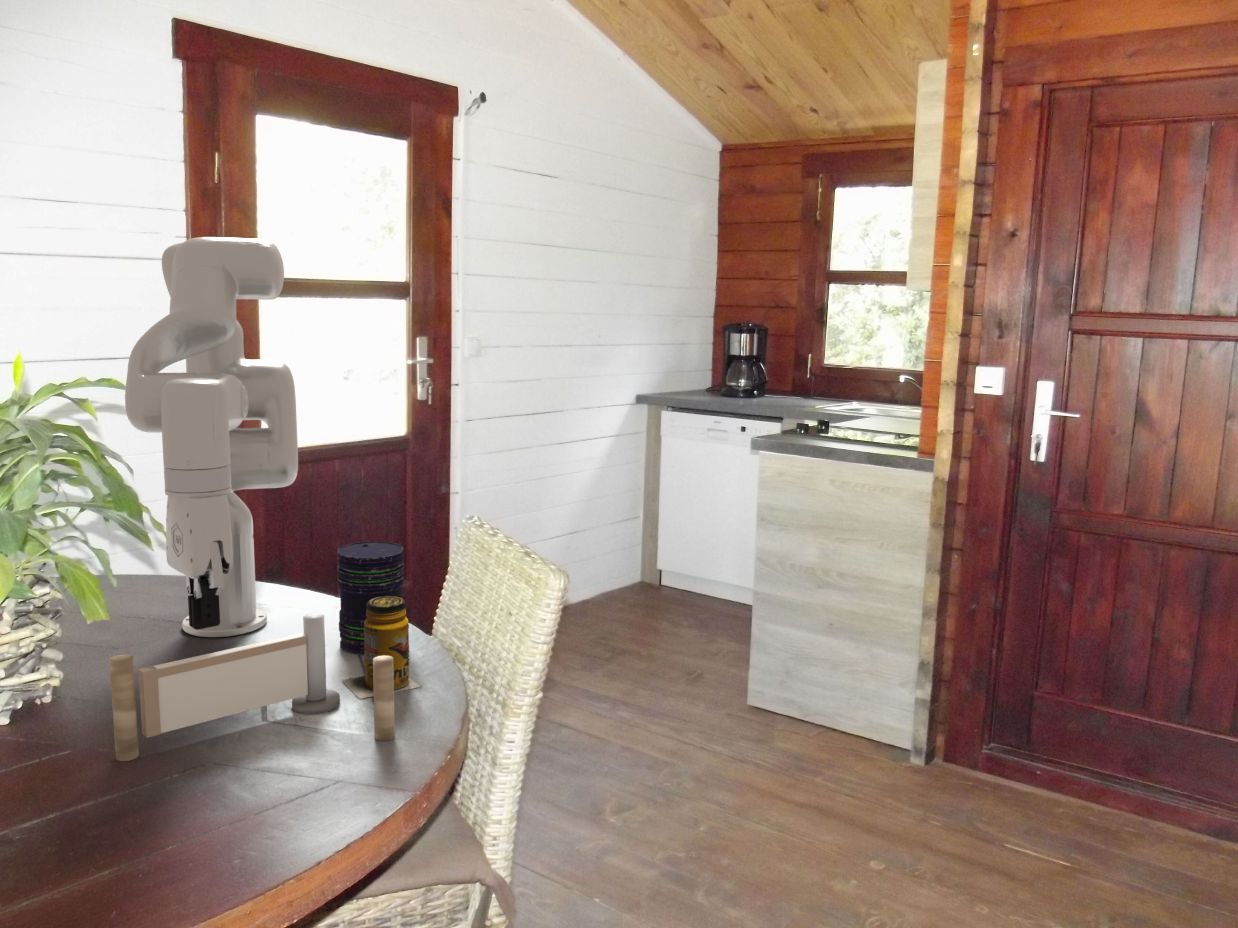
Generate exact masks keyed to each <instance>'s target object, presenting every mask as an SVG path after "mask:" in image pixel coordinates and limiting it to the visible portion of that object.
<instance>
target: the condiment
mask: <svg viewBox="0 0 1238 928" xmlns="http://www.w3.org/2000/svg"><path fill="white" fill-rule="evenodd" d="M406 607H407V606H406V601H405V599H403V597H402V598H399V597H395V596H382V597H376V598H373V599H371V600H369V601H368V603H367V605H366V608H367V612H366V617H367V619H366V620H365V622H364V655H363V656H364V661H363V663H364V675H362V676H357V677H347V678H344V679H342V682H343V683H344V684H345V686H346V687H348V689H349V690H350V691H351V692H352V693H354V694H355V696H356V697H358V699H360V700H361V699H365V698H370V697H374V687H373V659H374V658H375V657H377V656H384V655H386V656H391V657H393V668H394V693H398V692H403V691H408V690H411V689H412V690H413V689H416V688H420V685H419V684H418V683H416V682H415V681H414V680H413V679H411V678H410V642H409V641H410V640H409V639H410V635H409V634H410V633H409V632H410V631H409V629H410V627H409V626H410V624H409V619H408V618H407V612H406Z"/></svg>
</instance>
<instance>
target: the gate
mask: <svg viewBox="0 0 1238 928" xmlns="http://www.w3.org/2000/svg"><path fill="white" fill-rule="evenodd" d="M302 619H303V620H302V621H303V622H302V623H303V626H302V627H303V632H301V633H296V634H292V635H288V636H284V637H279V638H274V639H269V640H265V641H261V642H256V643H252V644H251V643H250V644H247V645H243V646H237V647H232V648H229V649H228V648H227V649H224V650H219V651H215V652H211V653H206V654H200V655H197V656H192V657H188V658H184V659H183V658H182V659H179V660H174V661H169V662H166V663H160V664H155V665H149V666H145V667H144V666H143V667H139V668H138V669H137V670H138V673H137V674H138V686H139V687H138V688H139V702H140V717H141V719H140V720H141V734H142V735H143V736H144V737H146V739H149V738H152V737H155V736H159V735H162V734H164V733H169V732H171V731H176V730H179V729H183V728H187V727H191V726H195V725H197V724H202V723H206V722H210V721H214V720H216V719H220V718H225V717H229V716H233V715H235V714H239V713H243V712H246V711H250V710H255V709H258V708H262V707H266V706H270V705H274V704H278V703H282V702H285V701H289V700H292V699H293V698H297V697H301V696H305V695H306V699H307V700H309V701H319V700H323V699H325V698H326V689H327V673H326V671H327V670H326V668H327V667H326V640H325V639H326V638H325V636H326V635H325V630H326V629H325V615H324V614H323V613H315V612H313V613H308V614H304V615H303V617H302Z"/></svg>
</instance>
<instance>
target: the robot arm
mask: <svg viewBox="0 0 1238 928" xmlns="http://www.w3.org/2000/svg"><path fill="white" fill-rule="evenodd" d="M161 270H162V275H163V279H164V284H165V286H166V289H167V292H168V294H169V297H170V298H169V299H170V301H169V304H170V305H169V314H167V315H166V316H164V317H163V318H161V319H160V320H158V321H157V322H155V324H153V325H152V326H151V327H150V328H148V330H147V331H145V332H144V333H143V335H142V336H141V337H140V338H139V339H138V340H137V341H136V343H135V345H133V348H132V350H131V352H130V355H129V358H128V363H127V372H126V373H127V374H126V381H125V391H124V392H125V394H124V401H125V403H124V404H125V405H124V406H125V413H126V416H127V419H128V421H129V423H130V424H131V425H132V426H133V427H134V428H135V429H136V430H138V431H140V432H145V433H153V434H154V433H161V439H162V461H163V462H162V463H163V476H164V477H163V478H164V494H165V496H167V502H166V517H165V519H166V523H165V524H166V525H165V526H166V527H165V529H166V531H165V533H166V535H165V538H166V539H165V542H166V544H165V545H166V547H165V549H166V551H165V552H166V562H167V564H168V566H169V567H171V568H172V569H174V570H175V571H177V572H179V573H181V574H182V575H184V576H185V585H186V592H187V595H188V596H187V603H188V604H187V605H188V615H187V616H186V617H185V618H184V619H183V620H182V630H183V631H184V632H185V633H187V634H189V635H191V636H196V637H201V638H224V637H233V636H239V635H244V634H247V633H250V632H254V631H256V630H259V629H261V628H262V627H263V626H265V624H266V623H267V622H268V621H267V620H268V618H267V613H266V612H265V611H264V610H262V609H261V608H259V607H257V598H256V597H257V596H256V595H257V594H256V591H257V590H256V564H255V543H254V540H255V539H254V521H253V516H252V512H251V510H250V509H249V507H248V506H247V505H246V503H245V502H244V501H243V500H242V499H241V498H240V497H239V496H238V495H237V493H235V491H240V490H257V489H258V490H259V489H277V488H280V489H281V488H285V487H289V486H291V485H293V483H294V482H295V481H296V478H297V476H298V471H299V445H298V424H297V422H298V421H297V402H296V401H297V400H296V390H295V389H296V388H295V382H294V376H293V374H292V371H291V369H290V368H289V366H288V365H287V364H286V363H284V362H282V361H280V360H275V359H248V358H245V351H244V350H245V348H244V347H245V346H244V343H245V342H244V330H243V327H242V324H240V322H239V320H237V319H238V318H237V300H263V301H264V300H265V301H266V300H269V301H270V300H275V299H277V298H279V296H280V294H281V293H282V290H283V286H284V280H285V267H284V262H283V258H282V255H281V252H280V250H279V249H278V247H277V246H276V244H275V243H273V242H272V241H270V240H266V239H261V238H251V237H250V238H248V237H247V238H246V237H245V238H244V237H225V236H224V237H222V236H220V237H218V236H217V237H216V236H203V237H202V236H201V237H200V236H199V237H193V238H190V239H187V240H185V241H183V242H179V243H176V244H175V243H174V244H172V245H170V246H168V247H167V248H165V249H164V251H163V253H162V257H161ZM183 360H185V361H186V362H185V367H186V368H185V369H186V370H185V371H186V372H161V371H163V370H164V369H166V368H167V367H169V366H170V365H171V366H172V365H173V364H175V363H178V362H180V361H183ZM257 420H258V421H262V422H264V423H265V424H266V425H267V427H252V428H251V427H250V428H249V427H247V428H246V427H245V428H240V427H239V426H240V425H241V424H242V422H243V421H257Z"/></svg>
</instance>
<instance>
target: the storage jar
mask: <svg viewBox="0 0 1238 928" xmlns="http://www.w3.org/2000/svg"><path fill="white" fill-rule="evenodd" d="M403 555H404V547H403V546H402V545H400V544H399V543H394V542H390V541H389V542H388V541H361V542H354V543H348V544H345V545H343V546H341V547H339V548H338V549H337V557H338V560H337V576H338V580H337V583H338V588H339V589H340V592H339V593H340V610H339V613H338V614H339V616H338V617H339V618H338V619H339V621H338V631H339V638H340V641H339V647H340V649H341V650H342V651H344V652H345V653H347V654H352V655H357V656H364V622H365V620H366V619H367V617H366V612H367V608H366V605H367V603H368V601H369V600H371V599H373V598H376V597H382V596H395V597H399V598H402V599H403V585H404V583H405V582H404V581H405V577H404V576H405V575H404V573H405V564H404V556H403Z"/></svg>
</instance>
